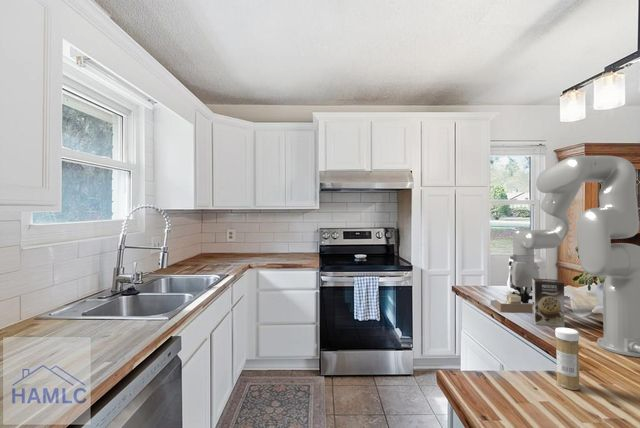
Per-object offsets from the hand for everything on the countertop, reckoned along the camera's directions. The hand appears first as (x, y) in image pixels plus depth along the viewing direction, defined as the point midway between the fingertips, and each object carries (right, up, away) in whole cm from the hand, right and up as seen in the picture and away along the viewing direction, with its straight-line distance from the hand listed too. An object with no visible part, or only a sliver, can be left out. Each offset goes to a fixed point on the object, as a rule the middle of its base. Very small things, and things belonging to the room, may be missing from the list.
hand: (524, 302), depth 139 cm
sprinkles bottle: (-26, -4, -60) cm, 65 cm away
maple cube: (-4, -1, +1) cm, 4 cm away
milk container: (+16, -3, +23) cm, 28 cm away
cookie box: (-1, -4, -17) cm, 17 cm away
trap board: (-3, -3, +2) cm, 5 cm away
